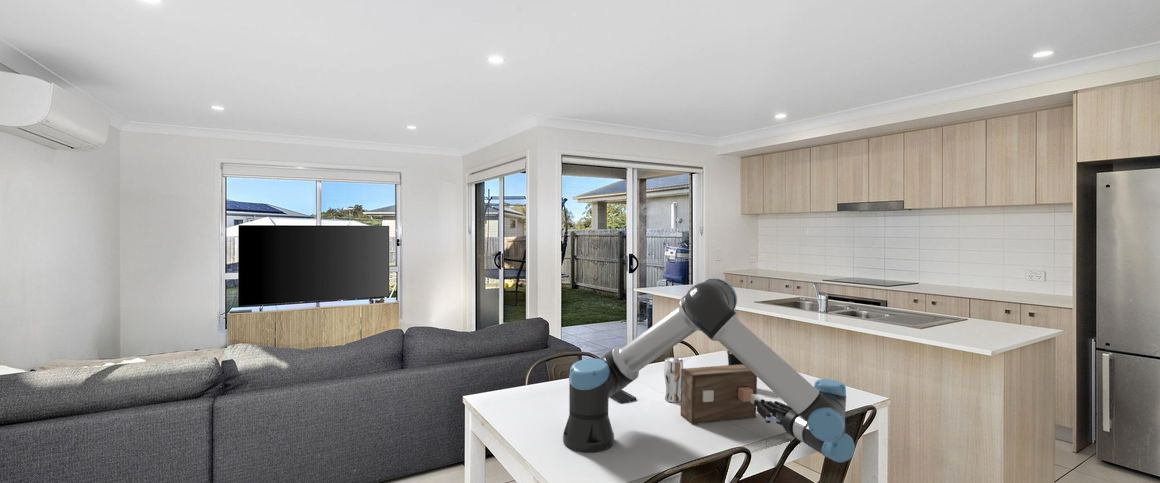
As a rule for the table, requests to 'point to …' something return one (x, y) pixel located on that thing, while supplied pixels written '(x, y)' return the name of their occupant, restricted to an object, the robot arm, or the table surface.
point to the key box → (716, 393)
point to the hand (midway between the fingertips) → (752, 398)
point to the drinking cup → (733, 359)
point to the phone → (622, 397)
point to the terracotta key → (744, 393)
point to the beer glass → (673, 379)
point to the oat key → (707, 395)
